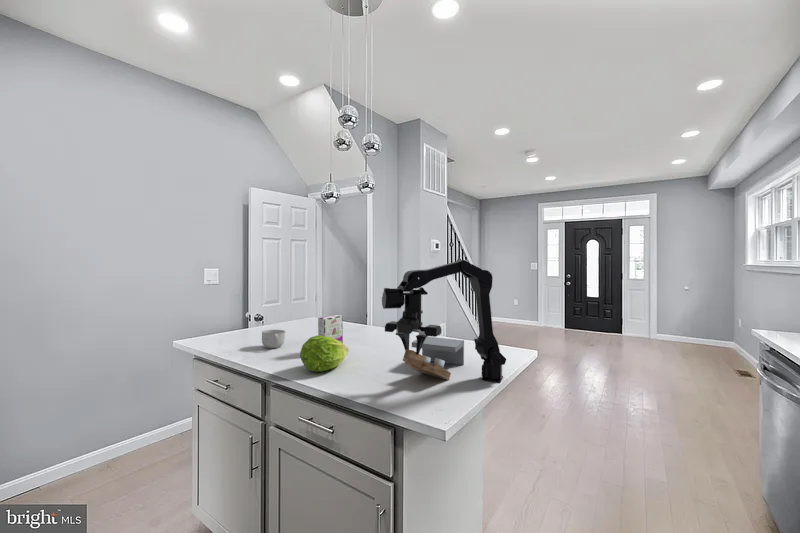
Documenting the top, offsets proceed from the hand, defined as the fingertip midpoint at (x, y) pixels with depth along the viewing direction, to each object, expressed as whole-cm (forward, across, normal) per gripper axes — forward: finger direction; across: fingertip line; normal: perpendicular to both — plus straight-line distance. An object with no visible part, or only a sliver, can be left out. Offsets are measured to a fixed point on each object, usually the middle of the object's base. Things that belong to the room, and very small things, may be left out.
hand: (412, 354), depth 122 cm
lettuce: (+12, -39, +6) cm, 41 cm away
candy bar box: (+11, -52, +25) cm, 59 cm away
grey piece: (+11, 0, +27) cm, 29 cm away
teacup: (+11, -81, +19) cm, 84 cm away
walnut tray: (+6, +1, +5) cm, 8 cm away
